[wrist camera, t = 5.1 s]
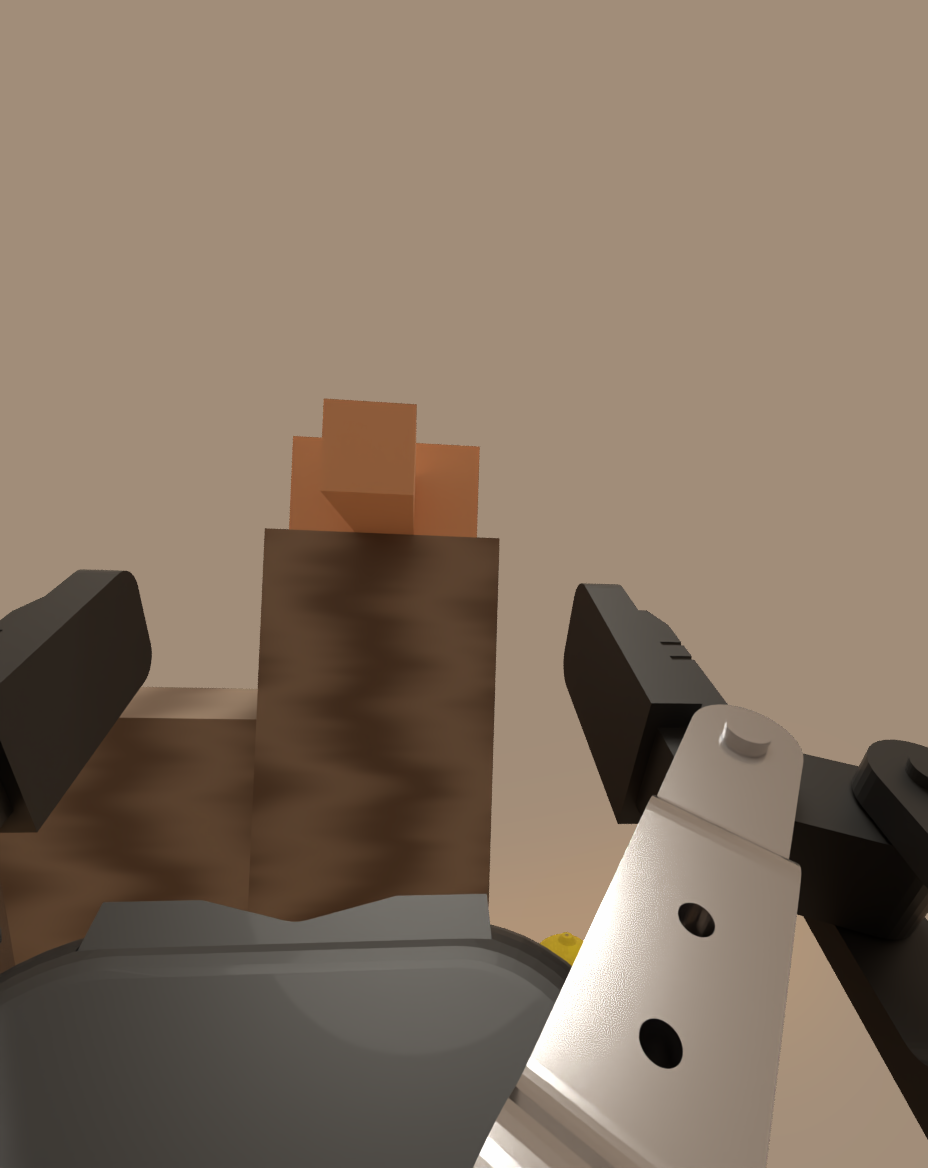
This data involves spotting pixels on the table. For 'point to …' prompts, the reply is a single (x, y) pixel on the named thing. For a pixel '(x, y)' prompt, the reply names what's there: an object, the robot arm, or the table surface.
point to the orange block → (381, 475)
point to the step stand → (294, 754)
